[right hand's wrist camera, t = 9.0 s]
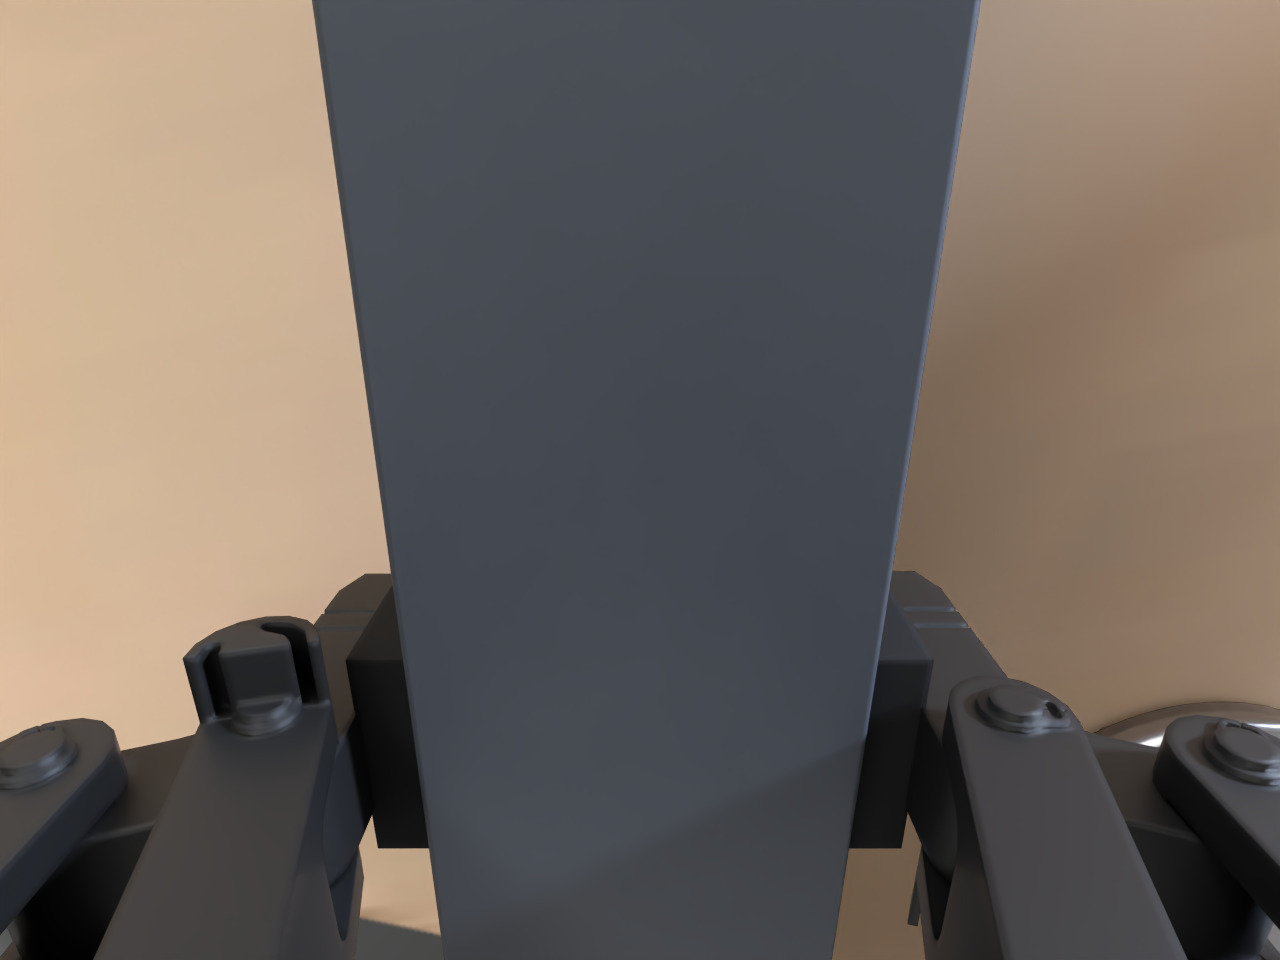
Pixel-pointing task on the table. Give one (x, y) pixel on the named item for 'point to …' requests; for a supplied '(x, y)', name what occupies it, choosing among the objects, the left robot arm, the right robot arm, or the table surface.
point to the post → (642, 437)
